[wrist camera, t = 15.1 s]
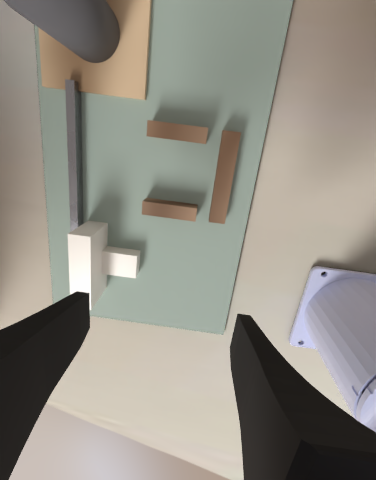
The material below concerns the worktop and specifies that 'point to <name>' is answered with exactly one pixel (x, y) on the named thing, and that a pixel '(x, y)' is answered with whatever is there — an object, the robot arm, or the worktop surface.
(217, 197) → the cradle
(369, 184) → the worktop surface
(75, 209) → the rail
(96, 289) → the white t-shaped block
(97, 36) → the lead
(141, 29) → the plate
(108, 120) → the mat
